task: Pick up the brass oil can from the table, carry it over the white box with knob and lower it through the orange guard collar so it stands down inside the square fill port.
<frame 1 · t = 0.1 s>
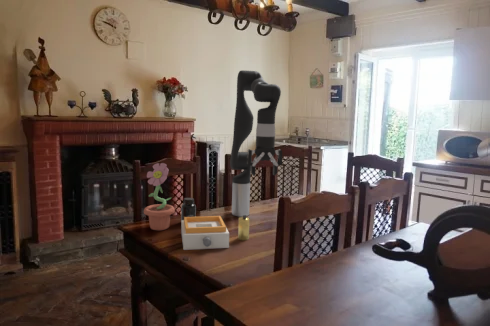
hand: (264, 175, 153), 29 cm above the table, tool pointing down, fingers open, 8 cm apart
supplement bottle: (188, 223, 183), on the table
oil can: (243, 238, 163), on the table
decorative flower: (158, 228, 174), on the table
white box with knob: (204, 240, 160), on the table
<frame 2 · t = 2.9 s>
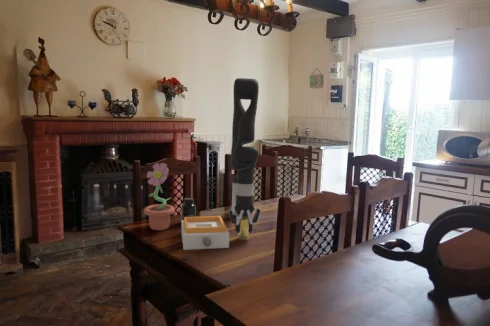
hand: (243, 232, 163), 3 cm above the table, tool pointing down, fingers closed on oil can, 4 cm apart
oil can: (243, 238, 163), on the table, touching gripper
everything else where it was.
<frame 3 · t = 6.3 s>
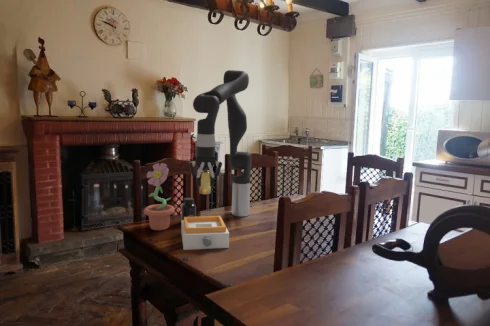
hand: (205, 186, 156), 23 cm above the table, tool pointing down, fingers closed on oil can, 4 cm apart
oil can: (205, 193, 157), point 20 cm above the table, touching gripper
everything else where it was.
when the fingers open (7 cm above the table, at t = 9.5 s): oil can drops 2 cm, resting on white box with knob.
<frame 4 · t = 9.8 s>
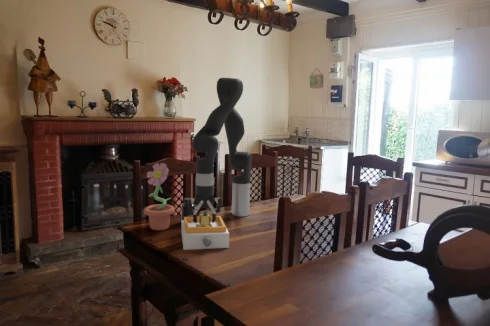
hand: (204, 222, 159), 8 cm above the table, tool pointing down, fingers open, 6 cm apart
oil can: (204, 235, 160), point 2 cm above the table, touching white box with knob
everything else where it was.
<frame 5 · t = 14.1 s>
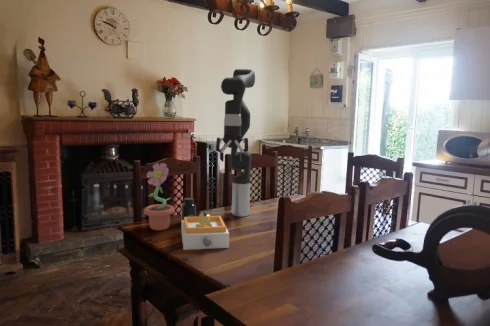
hand: (231, 161, 169), 32 cm above the table, tool pointing down, fingers open, 8 cm apart
nothing on the table moved.
at the end: oil can 0.2 cm off-centre on the white box with knob, point 2.0 cm above the white box with knob's base; oil can tilted 0°; the gripper is holding nothing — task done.
